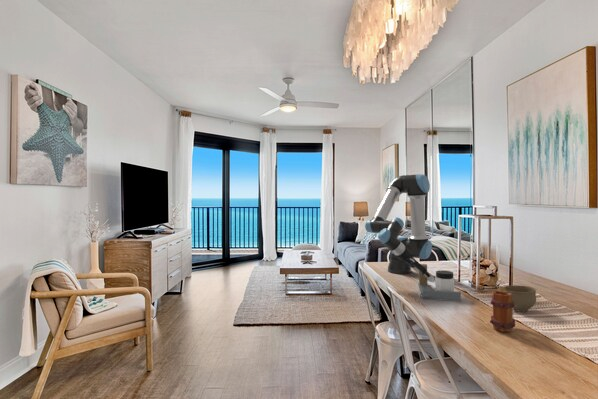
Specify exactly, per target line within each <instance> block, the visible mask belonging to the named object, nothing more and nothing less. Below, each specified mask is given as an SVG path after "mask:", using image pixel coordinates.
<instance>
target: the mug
mask: <svg viewBox="0 0 598 399" xmlns="http://www.w3.org/2000/svg"><path fill="white" fill-rule="evenodd" d="M505 286H506V285H504V286H502V285H499V286H498V290H494V291H493V292H492V298H491V299H490V300H491V301H490V304H491V305H492V314H493V315H491V316H490V321H489V323H490V324H491V325H492V328H493V329H494V330H495V331H499V332H501V333H511V332H513V330H514V328H515V327H516V319H514V318H513V317H514V315H513V314H514V312H513V311H514V309H513V307H514V306H515V305H514V301H513V300H512V294H511V293H508V292H506V291H505Z"/></svg>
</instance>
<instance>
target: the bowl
mask: <svg viewBox="0 0 598 399" xmlns="http://www.w3.org/2000/svg"><path fill="white" fill-rule="evenodd" d="M504 286H505V291H506V292H508V293H511V294H512V300H513V301H514V305H515V306H514V307H513V311H514V310H515V311H517V312H528V311H529V310H530V309H531V308H533V307H534V306H535V305H536V303H537V295H536V294H537V293H536V291H537V289H536V288H535V287H532V286H526V285H515V284H513V285H504Z"/></svg>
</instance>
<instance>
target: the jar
mask: <svg viewBox="0 0 598 399" xmlns="http://www.w3.org/2000/svg"><path fill="white" fill-rule="evenodd" d="M434 278H435V279H434V280H435V281H434V284H435V287H434V288H435V289H434V290H438V291H455V277H454V272H453V271H450V270H444V269H443V270H442V269H441V270H437V271H435V276H434Z"/></svg>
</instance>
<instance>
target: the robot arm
mask: <svg viewBox="0 0 598 399" xmlns="http://www.w3.org/2000/svg"><path fill="white" fill-rule="evenodd" d="M430 186H431V184H430V181H429V178H428V177H427V175H425V174H406V175H405V174H404V175H399V176H397V177H396V178H394V179H392V181H391V182H390V183H389V184H388V186H387V187H386V190H385V192H386V193H385V194H384V197H383V199H382V200H381V201H380V204H379V206H378V208H377V210H376V212H375V213H374V215H373V217H372V219H369V220H367V221H366V222H365V224H364V228H365V231H366V232H367V233H372V234H378V235H377V239H378V240H379V241H380V242H381V244H383V245H384V246H385V247H386V248H387V249H388V250H389V253H390V257H389V258H390V260H389V264H388V266H387V271H388V272H389V273H392V274H399V275H400V274H401V275H403V274H405V275H407V274H410V273H412V269H413V270H414V271H415V272H416V274H418V275H419V271H421V272H422V275H424V276H425V277H426V278H427V280H428V281H429V282H431V283H432V282H433V281H434V280H435V276H434V275H432V274H431V273H430V272H429V271H428V268H427V269H425V268H424V267H423V266H422V265H421V264H422V263H419V262H418V261H417V260H416V259H420V260H421V259H428V258H429V257H430V256H431V254H432V249H433V243H432V241H431V240H429V237H428V236H427V235H426V216H425V215H426V214H425V212H426V211H425V198H426V196H427V193H429V192H430V189H431V188H430ZM401 194H406V195H407V197H408V198H409V203H410V204H409V205H410V206H409V208H410V230H411V234H410V236H409V237H408V236H399V235H400V233H401V232H402V230H403V228H404V226H405V223H404V220H402V219H401V218H400V217H396V216H395V217H393V218H392V219H391V220H387V219H388V217H389V214H390V213H391V211H392V210H393V207H394V204H395V203H396V201H397V199H398V198H399V197H400V196H401Z"/></svg>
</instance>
